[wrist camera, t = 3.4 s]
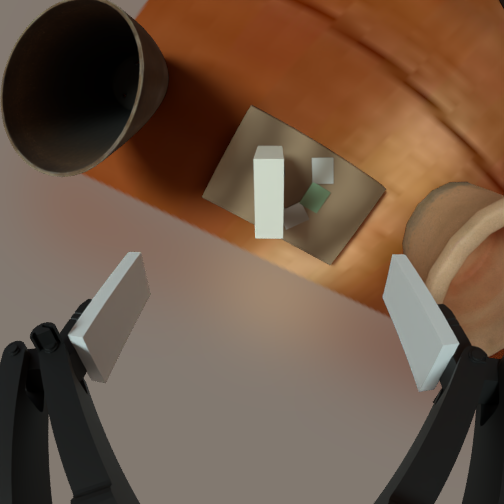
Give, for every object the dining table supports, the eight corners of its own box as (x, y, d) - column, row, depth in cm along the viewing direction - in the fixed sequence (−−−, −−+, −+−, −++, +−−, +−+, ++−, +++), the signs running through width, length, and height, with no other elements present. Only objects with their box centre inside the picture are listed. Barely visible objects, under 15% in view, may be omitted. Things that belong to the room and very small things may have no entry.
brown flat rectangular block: (205, 191, 38) (201, 197, 36) (252, 105, 32) (250, 105, 30) (327, 257, 41) (330, 266, 39) (380, 184, 35) (386, 189, 33)
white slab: (260, 232, 37) (256, 273, 29) (259, 142, 32) (253, 158, 24) (281, 232, 37) (282, 273, 29) (281, 142, 32) (283, 159, 24)
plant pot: (90, 144, 35) (8, 182, 21) (88, 37, 28) (1, 28, 14) (198, 139, 34) (146, 174, 21) (200, 19, 27) (148, -25, 13)
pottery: (449, 128, 31) (521, 155, 18) (522, 222, 35) (576, 267, 23) (353, 255, 40) (381, 327, 28) (442, 317, 45) (475, 380, 32)
